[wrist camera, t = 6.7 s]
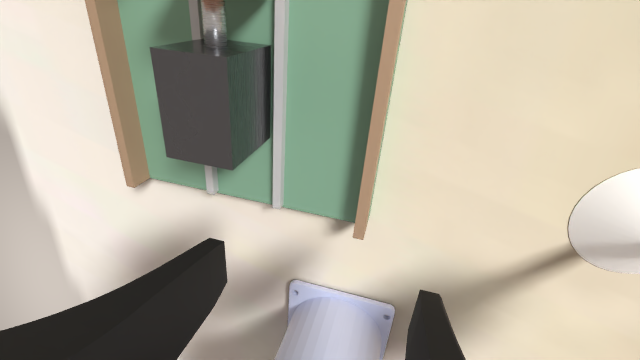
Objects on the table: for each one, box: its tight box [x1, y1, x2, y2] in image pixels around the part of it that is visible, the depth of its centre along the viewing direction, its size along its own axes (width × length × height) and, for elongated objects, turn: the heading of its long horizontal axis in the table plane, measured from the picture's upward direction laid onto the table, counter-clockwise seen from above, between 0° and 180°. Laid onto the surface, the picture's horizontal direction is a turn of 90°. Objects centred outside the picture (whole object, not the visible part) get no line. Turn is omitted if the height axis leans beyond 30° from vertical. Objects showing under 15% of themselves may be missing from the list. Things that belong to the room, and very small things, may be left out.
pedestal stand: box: [150, 0, 271, 171], centre depth 16 cm, size 9×4×5 cm, turn 175°
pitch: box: [85, 0, 407, 240], centre depth 16 cm, size 19×16×6 cm
